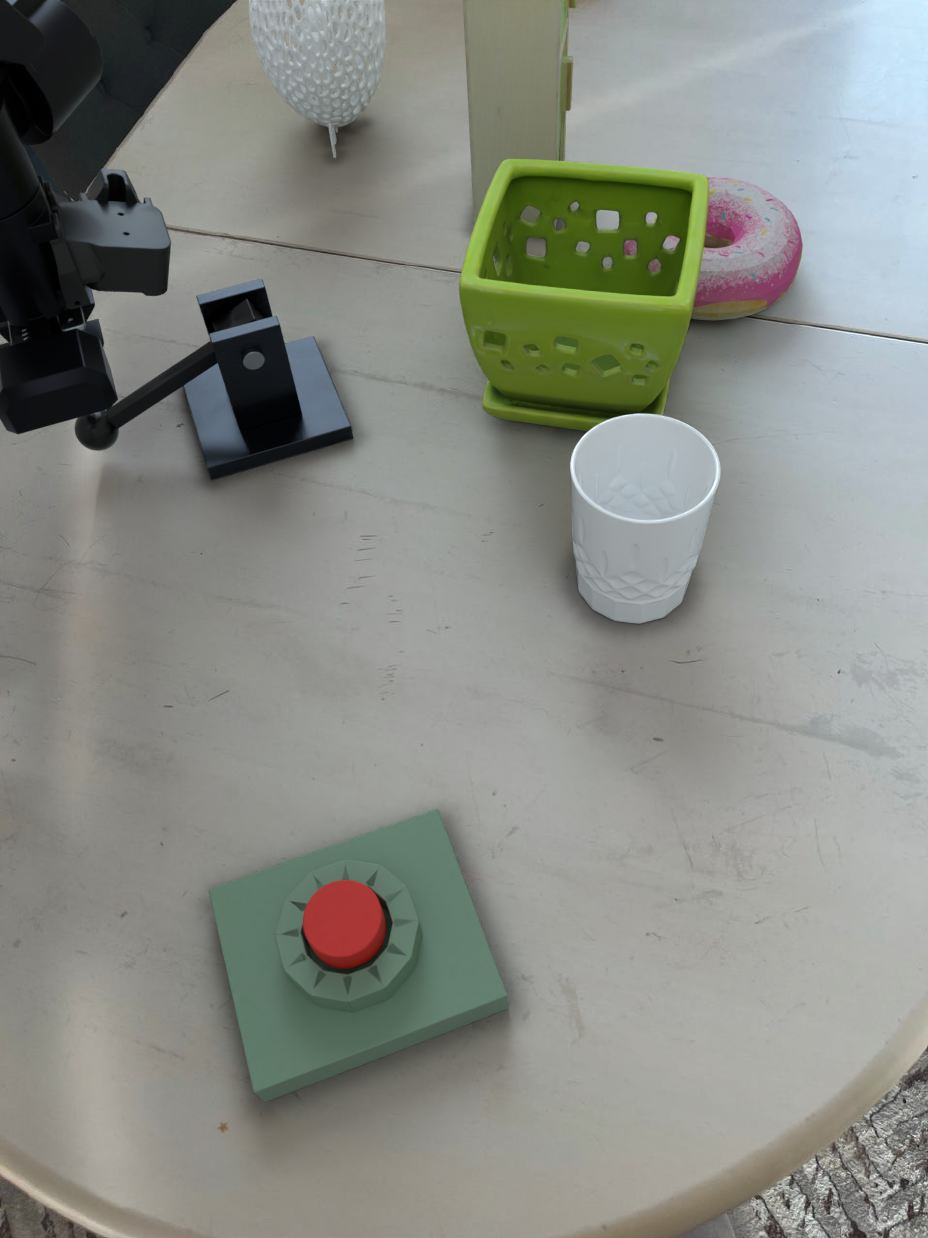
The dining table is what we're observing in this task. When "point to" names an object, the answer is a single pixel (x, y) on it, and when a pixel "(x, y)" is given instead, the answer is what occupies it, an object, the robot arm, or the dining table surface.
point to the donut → (741, 251)
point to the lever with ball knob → (157, 386)
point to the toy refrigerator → (516, 85)
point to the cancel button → (344, 924)
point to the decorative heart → (321, 55)
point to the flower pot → (581, 290)
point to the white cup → (640, 513)
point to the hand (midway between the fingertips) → (87, 408)
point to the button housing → (368, 994)
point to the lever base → (260, 390)
